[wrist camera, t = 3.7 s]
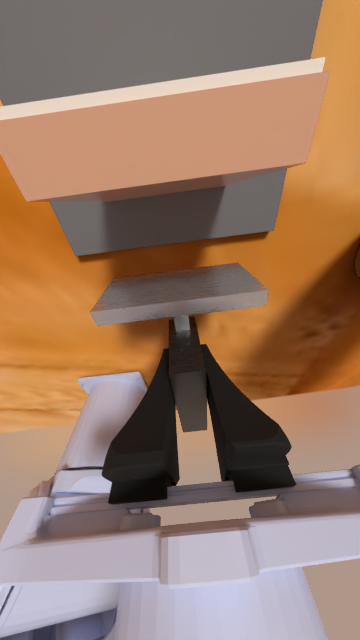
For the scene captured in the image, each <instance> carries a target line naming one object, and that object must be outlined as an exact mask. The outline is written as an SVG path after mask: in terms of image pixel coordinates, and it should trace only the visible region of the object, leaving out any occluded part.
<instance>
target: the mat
mask: <svg viewBox="0 0 360 640" xmlns="http://www.w3.org/2000/svg"><path fill="white" fill-rule="evenodd" d="M322 1H323V0H0V99H1V101H2V103H3V106H8V105H14V104H21V103H27V102H34V101H41V100H47V99H54V98H60V97H67V96H73V95H80V94H86V93H93V92H100V91H106V90H113V89H119V88H126V87H132V86H139V85H146V84H152V83H159V82H165V81H172V80H178V79H185V78H192V77H198V76H205V75H211V74H218V73H224V72H231V71H237V70H244V69H251V68H257V67H264V66H270V65H277V64H283V63H290V62H297V61H303V60H310V58H311V53H312V48H313V44H314V39H315V34H316V29H317V25H318V20H319V15H320V11H321V6H322ZM286 171H287V169H283V170H280V171H276V172H273V173H269V174H266V175H262V176H259V177H255V178H252V179H248V180H245V181H241V182H238V183H234V184H231V185H227V186H221V187H214V188H207V189H199V190H192V191H185V192H177V193H170V194H163V195H155V196H148V197H141V198H133V199H126V200H119V201H111V202H50V204H51V206H52V208H53V210H54V212H55V214H56V216H57V218H58V220H59V223H60V225H61V227H62V229H63V231H64V233H65V235H66V237H67V239H68V241H69V243H70V246H71V248H72V250H73V252H74V254H75V256H80V255H88V254H96V253H104V252H111V251H119V250H127V249H135V248H142V247H150V246H158V245H166V244H173V243H181V242H189V241H197V240H204V239H212V238H220V237H228V236H235V235H243V234H251V233H259V232H266V231H274V227H275V222H276V218H277V213H278V208H279V204H280V199H281V194H282V189H283V185H284V180H285V175H286Z"/></svg>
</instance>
